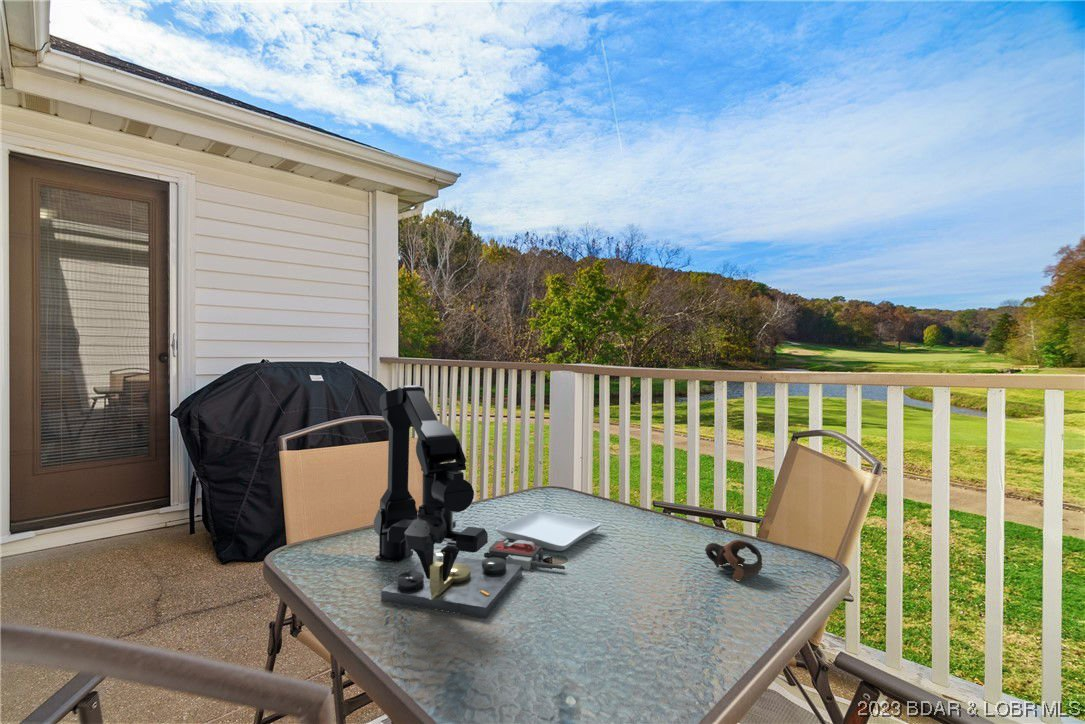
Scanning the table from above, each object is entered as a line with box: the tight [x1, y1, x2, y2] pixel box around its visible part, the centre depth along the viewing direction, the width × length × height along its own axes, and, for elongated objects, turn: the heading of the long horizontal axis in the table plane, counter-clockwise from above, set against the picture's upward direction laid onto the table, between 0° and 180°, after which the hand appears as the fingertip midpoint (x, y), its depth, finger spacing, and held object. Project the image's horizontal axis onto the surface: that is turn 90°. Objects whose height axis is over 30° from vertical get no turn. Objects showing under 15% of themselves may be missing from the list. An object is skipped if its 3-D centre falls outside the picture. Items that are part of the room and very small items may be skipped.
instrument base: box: [380, 548, 523, 619], centre depth 107 cm, size 22×20×5 cm
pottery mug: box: [704, 539, 763, 581], centre depth 115 cm, size 12×10×8 cm
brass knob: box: [430, 561, 471, 596], centre depth 104 cm, size 12×6×6 cm, turn 163°
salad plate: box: [495, 509, 602, 552], centre depth 138 cm, size 21×21×3 cm
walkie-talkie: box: [483, 539, 566, 570], centre depth 121 cm, size 9×4×20 cm
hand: (437, 579), depth 99 cm, fingers open, 3 cm apart
